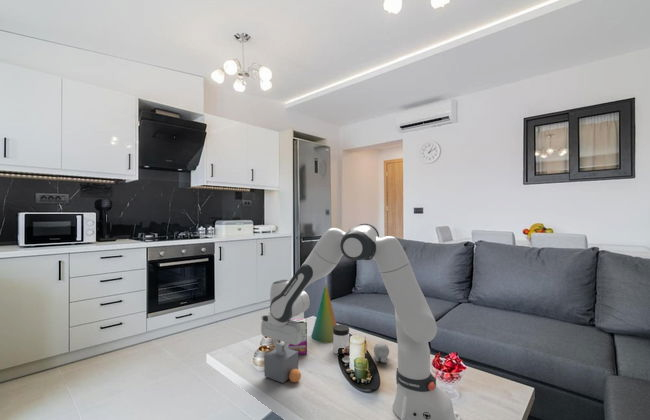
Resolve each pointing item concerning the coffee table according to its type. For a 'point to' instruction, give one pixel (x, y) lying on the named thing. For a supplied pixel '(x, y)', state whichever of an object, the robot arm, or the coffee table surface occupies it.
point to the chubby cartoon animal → (381, 352)
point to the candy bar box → (303, 344)
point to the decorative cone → (324, 320)
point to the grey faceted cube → (280, 363)
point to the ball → (294, 375)
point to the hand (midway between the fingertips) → (281, 349)
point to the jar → (340, 337)
